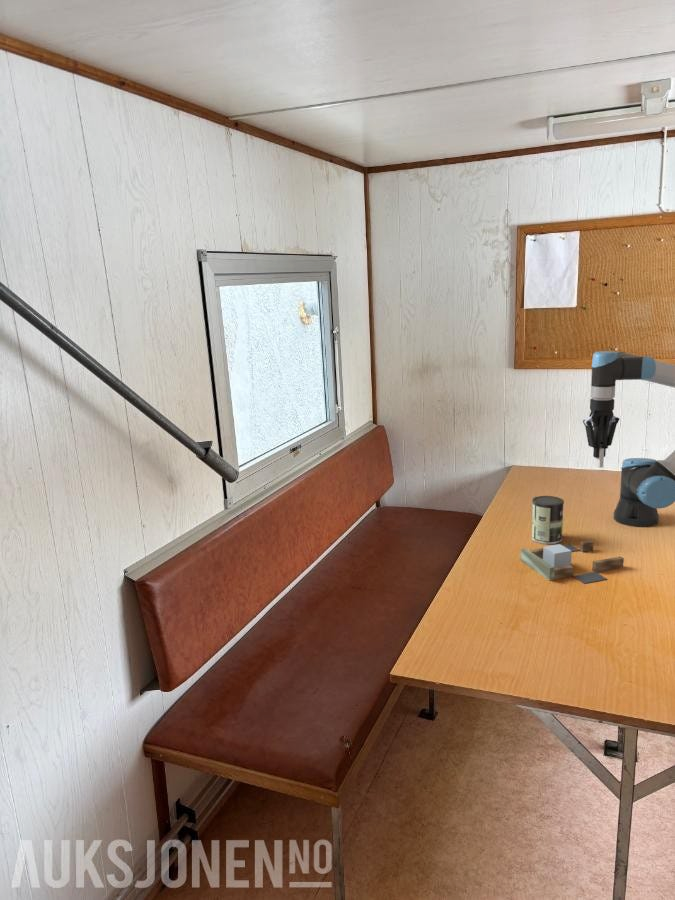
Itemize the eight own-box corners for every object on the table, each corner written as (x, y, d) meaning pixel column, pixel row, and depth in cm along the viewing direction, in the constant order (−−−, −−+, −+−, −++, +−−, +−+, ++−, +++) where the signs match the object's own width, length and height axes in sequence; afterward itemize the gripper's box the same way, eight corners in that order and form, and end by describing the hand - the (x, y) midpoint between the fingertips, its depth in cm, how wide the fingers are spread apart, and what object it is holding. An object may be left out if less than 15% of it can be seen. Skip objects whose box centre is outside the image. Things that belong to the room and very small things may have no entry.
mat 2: (595, 572, 203) (595, 571, 203) (607, 579, 198) (607, 578, 198) (572, 576, 201) (572, 575, 201) (584, 583, 196) (584, 583, 196)
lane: (590, 548, 221) (590, 537, 220) (623, 567, 206) (623, 555, 205) (520, 560, 214) (520, 548, 213) (549, 580, 199) (549, 568, 198)
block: (559, 561, 212) (559, 544, 211) (570, 569, 207) (571, 550, 205) (542, 564, 211) (543, 546, 209) (553, 572, 205) (554, 553, 204)
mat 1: (569, 544, 225) (569, 544, 225) (579, 550, 220) (579, 550, 220) (548, 548, 223) (548, 547, 223) (558, 554, 218) (558, 553, 218)
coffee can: (560, 534, 235) (562, 495, 231) (563, 545, 225) (565, 505, 222) (530, 532, 237) (531, 495, 234) (532, 543, 227) (533, 504, 224)
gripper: (611, 395, 228) (607, 461, 233) (578, 398, 224) (575, 466, 230) (626, 398, 221) (622, 467, 226) (592, 401, 217) (589, 471, 223)
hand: (598, 466), depth 228 cm, fingers closed
